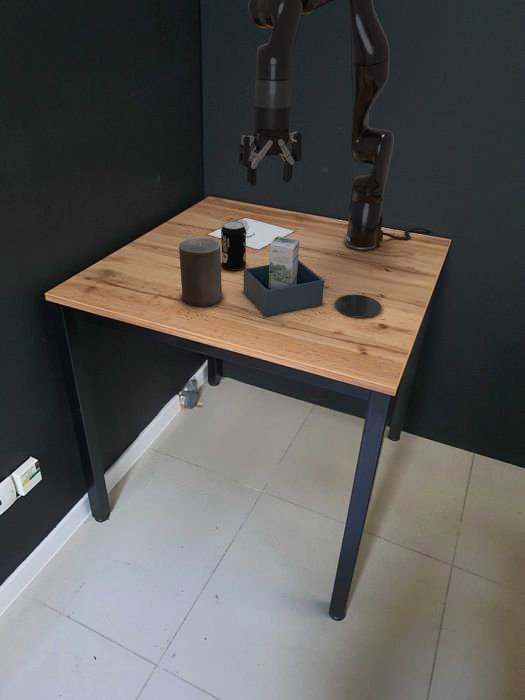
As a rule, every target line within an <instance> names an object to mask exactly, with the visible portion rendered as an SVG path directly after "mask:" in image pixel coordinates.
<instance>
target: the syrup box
mask: <svg viewBox="0 0 525 700" xmlns="http://www.w3.org/2000/svg"><path fill="white" fill-rule="evenodd" d="M299 253H300V239H298V238H291V237H286V236H284V237H278V236H277V237H276V238H275V239H274V240H273V241H272V242H271V243H270V244H269V264H268V265H269V290H272V289H277V288H282V287H288V286H293V285H296V283H297V267H298V260H299Z"/></svg>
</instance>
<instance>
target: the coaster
mask: <svg viewBox="0 0 525 700" xmlns="http://www.w3.org/2000/svg"><path fill="white" fill-rule="evenodd" d="M334 307H335V309H336V310H337V311H338V312H339V313H340V314H342V315H344V316H346V317H350V318H354V319H355V318H356V319H370V318H373V317H375V316H378V315H379V314H381V312H382V305H381V304H380V302H379V301H377V300H376V299H374V298H373V297H369V296H368V295H362V294H346V295H341V296H340V297H338V298H337V299H335V303H334Z"/></svg>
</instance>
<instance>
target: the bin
mask: <svg viewBox="0 0 525 700" xmlns="http://www.w3.org/2000/svg"><path fill="white" fill-rule="evenodd" d="M324 289H325V279H323V278H322V277H320V275H318V274H317V273H315V272H314V271H313V270H312V269H311V268H310V267H308V265H306V264H304V263H303V262H302V261H301V260H299V259H298V267H297V283H296V285H293V286H288V287H282V288H277V289H272V290H269V264H264V265H259V266H253V267H247V268H243V293H244V294H245V296H246V297H247V298H248V299H249V300H250V301H251V302H252V303H253V304H254V305H255V306H256V307H257V308H258V310H259V311H260V312H261V314H263V315H264V316H265V317H270V316H274V315H278V314H283V313H287V312H293V311H298V310H302V309H307V308H311V307H315V306H321V305H323V301H324V300H323V299H324Z"/></svg>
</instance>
